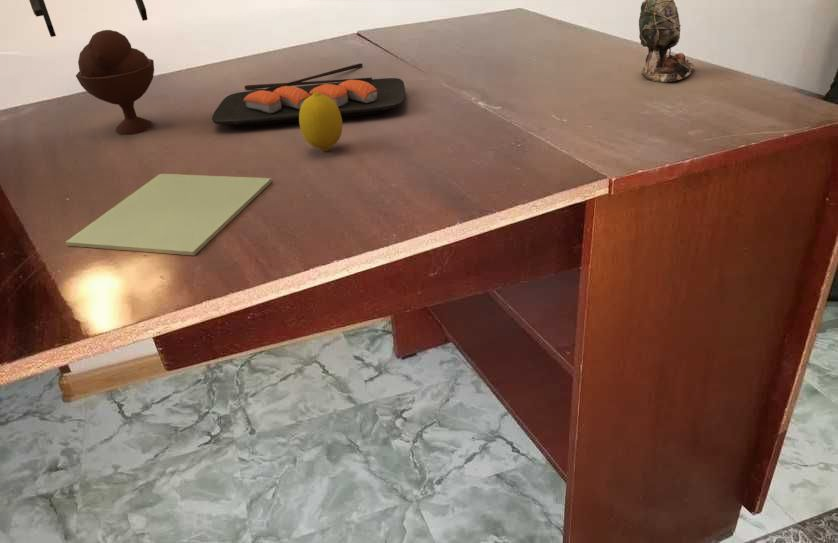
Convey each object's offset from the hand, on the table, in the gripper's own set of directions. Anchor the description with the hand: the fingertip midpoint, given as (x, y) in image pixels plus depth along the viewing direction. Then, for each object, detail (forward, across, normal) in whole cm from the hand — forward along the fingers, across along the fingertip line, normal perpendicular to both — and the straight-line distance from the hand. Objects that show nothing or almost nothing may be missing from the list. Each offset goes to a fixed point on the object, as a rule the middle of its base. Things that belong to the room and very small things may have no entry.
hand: (99, 23), depth 107 cm
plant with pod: (+40, -75, +20) cm, 87 cm away
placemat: (+41, 0, +20) cm, 46 cm away
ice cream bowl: (+16, 0, -5) cm, 17 cm away
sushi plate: (+19, -29, -2) cm, 35 cm away
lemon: (+37, -21, +16) cm, 45 cm away
